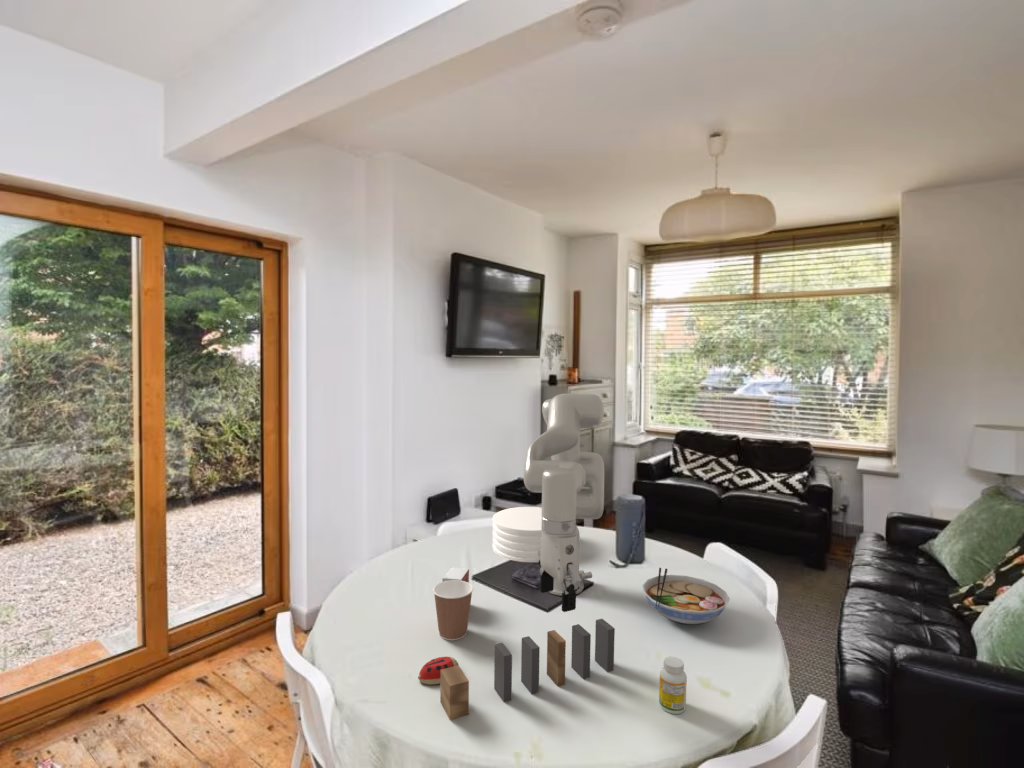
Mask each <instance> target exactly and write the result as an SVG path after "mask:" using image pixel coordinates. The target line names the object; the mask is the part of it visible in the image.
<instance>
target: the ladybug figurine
mask: <svg viewBox="0 0 1024 768" xmlns="http://www.w3.org/2000/svg"><path fill="white" fill-rule="evenodd" d="M458 665H459V662H458V661H457V660H456V659H455V658H454V657H451V656H441V657H435V658H434V659H430V660H429V661H428V662H426V663H425V664H424V665H423V666H422V667H421V669H420V671H419V674H418V675H417V680H419V682H420V683H422V684H424V685H430V686H433V685H434V686H435V685H440V681H441V670H442V669H446V668H450V667H454V666H458ZM459 666H460V665H459Z"/></svg>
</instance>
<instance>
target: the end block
mask: <svg viewBox="0 0 1024 768" xmlns="http://www.w3.org/2000/svg"><path fill="white" fill-rule="evenodd" d="M439 686H440V695H439V696H440V705H441V706H442V708H443V710H444V712H445V714H446V716H447V717H448V720H451V721H452V720H454V719H458V718H461V717H464V716H469V713H470V712H469V711H470V709H469V708H470V705H469V704H470V700H469V699H470V692H469V691H470V680H469V679H468V677H467V676H466V674H465V672H464V671H463V670H462V668H461V666H460V665H458V666H454V667H450V668H446V669H442V670H441V681H440V684H439Z"/></svg>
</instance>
